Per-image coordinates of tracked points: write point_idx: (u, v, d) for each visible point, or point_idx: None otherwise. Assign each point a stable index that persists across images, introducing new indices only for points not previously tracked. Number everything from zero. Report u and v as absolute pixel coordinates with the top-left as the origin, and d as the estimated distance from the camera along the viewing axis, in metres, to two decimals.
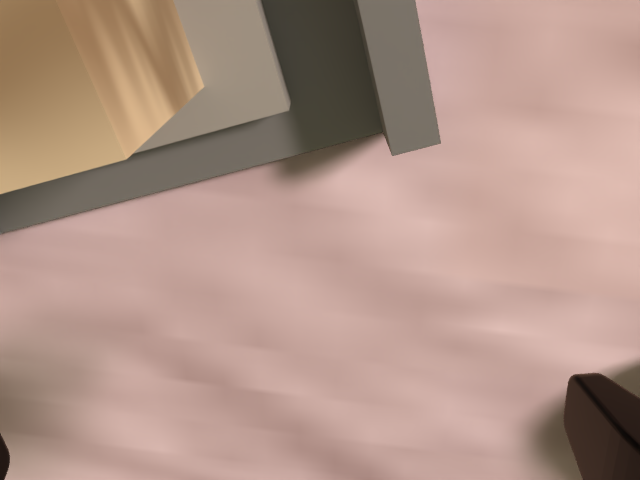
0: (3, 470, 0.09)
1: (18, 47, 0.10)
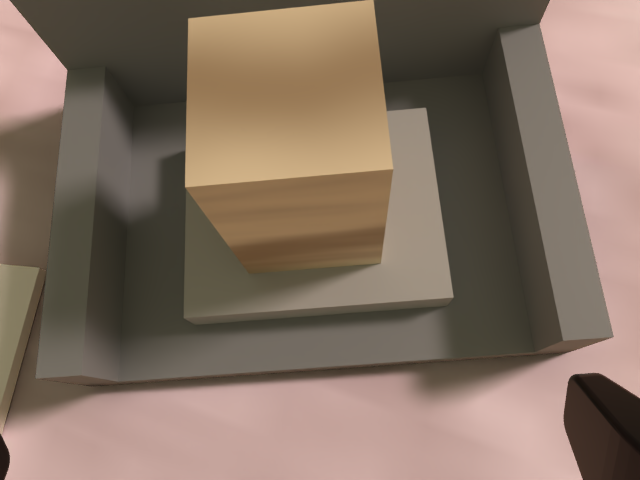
0: (3, 470, 0.09)
1: (341, 82, 0.14)
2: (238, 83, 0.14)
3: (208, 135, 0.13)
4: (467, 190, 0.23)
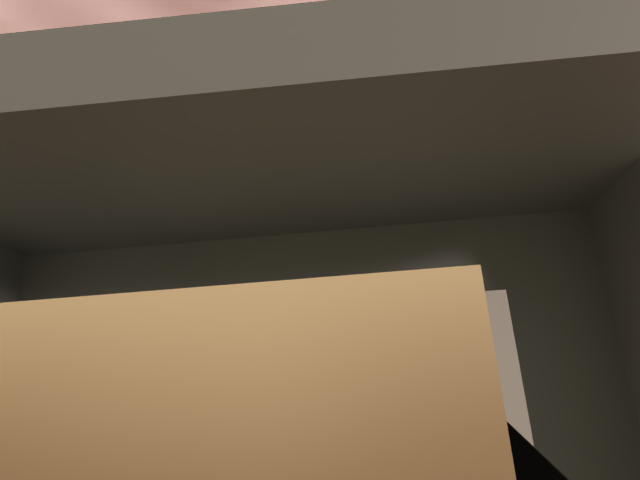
0: None
1: None
2: None
3: None
4: (575, 427, 0.13)
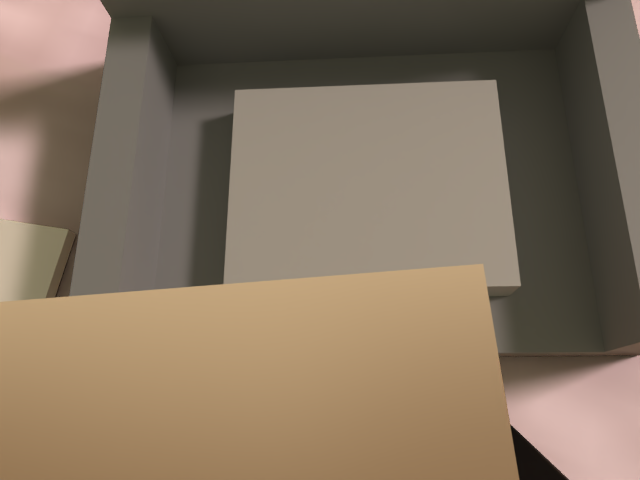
0: None
1: None
2: None
3: None
4: (535, 172, 0.21)
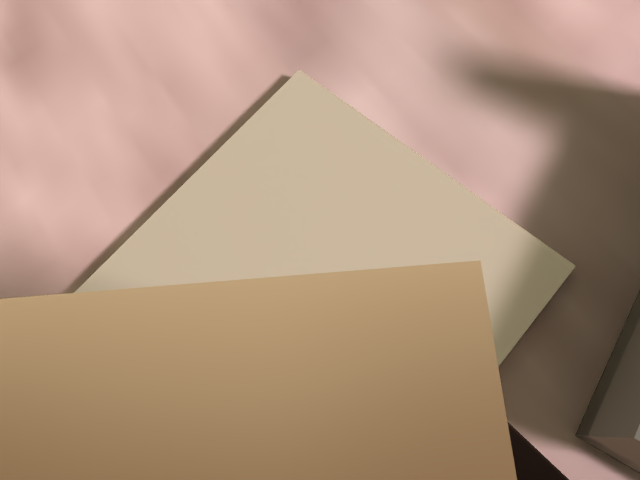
0: None
1: None
2: None
3: None
4: None
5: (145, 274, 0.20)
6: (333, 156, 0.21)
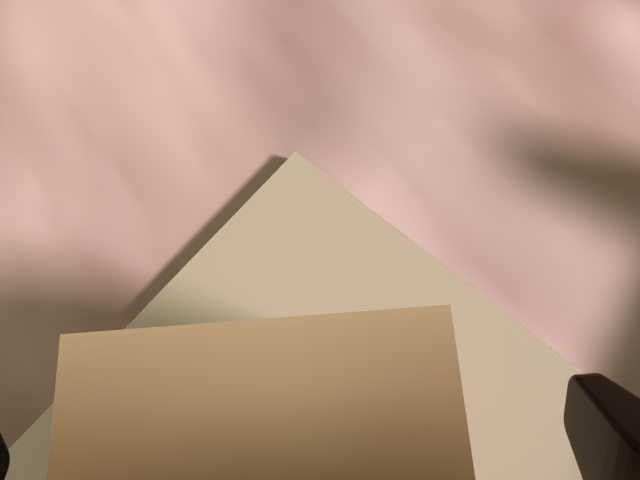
0: (3, 470, 0.09)
1: None
2: None
3: None
4: None
5: None
6: (342, 277, 0.15)
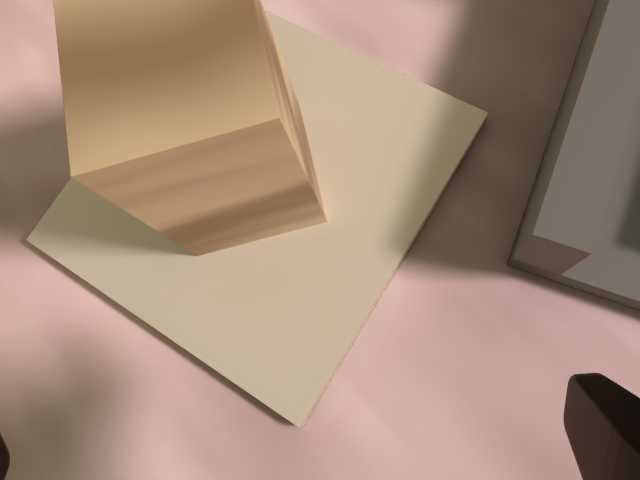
0: (3, 470, 0.09)
1: (216, 37, 0.13)
2: (111, 58, 0.13)
3: (88, 119, 0.13)
4: None
5: (97, 196, 0.21)
6: None
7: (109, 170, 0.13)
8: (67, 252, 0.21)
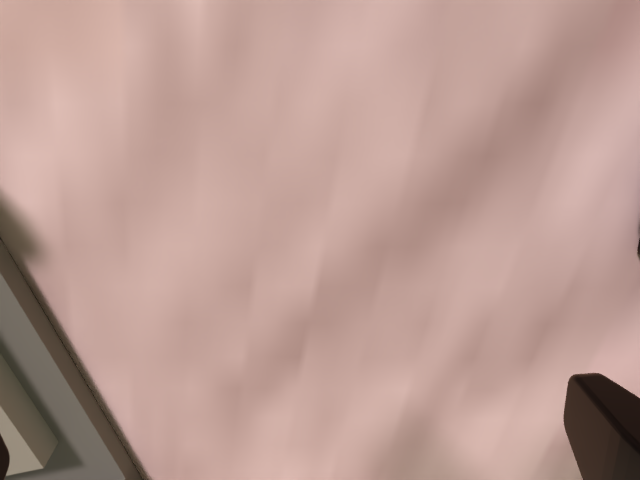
0: (3, 470, 0.09)
1: None
2: None
3: None
4: None
5: None
6: None
7: None
8: None
